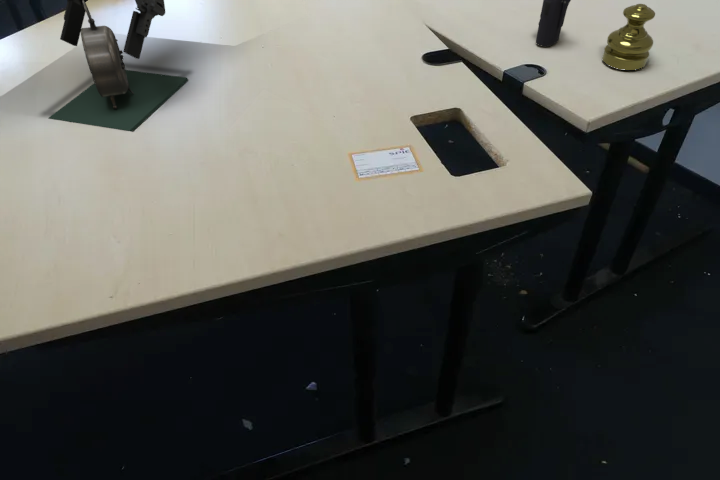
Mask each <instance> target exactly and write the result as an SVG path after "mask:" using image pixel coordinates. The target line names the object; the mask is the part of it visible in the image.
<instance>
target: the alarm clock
mask: <svg viewBox="0 0 720 480" xmlns="http://www.w3.org/2000/svg"><path fill="white" fill-rule="evenodd" d="M82 2H83V5H84V8H85V11H86V12H85V14H86V16H87V19H88V20H87V22H88V24H89V27H82V28H81V32H80V37H81V38H80V39H81V43H82V47H83V52H84V55H85V59H86V62H87V65H88V68H89V71H90V74H91V77H92V81H93V84H94V83H95V85H96V88H97V90H98V92H99V94H100V95H101V97H107V96H110V98H111V102H112V104H113V109H117V106H116V102H115V95H120V94H125V93H126V92H127V90H129V91H130V92H131V93H133V94H134V92H133V91H131V89H130V88H129V83H128V80H127V75H126V71H125V70H126V67H125V63H124V61H123V60H124V55H123V54H124V52H123V50H121V49H120V47H119V44H118V39H117V38H116V35H115V33H114V31H113V30H112V28H111V27H109V26H107V25H96V24H95V19H94V18H92V15H91V12H90V10H89V8H88V5H87V3H86V2H85V1H84V0H83V1H82Z"/></svg>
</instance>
